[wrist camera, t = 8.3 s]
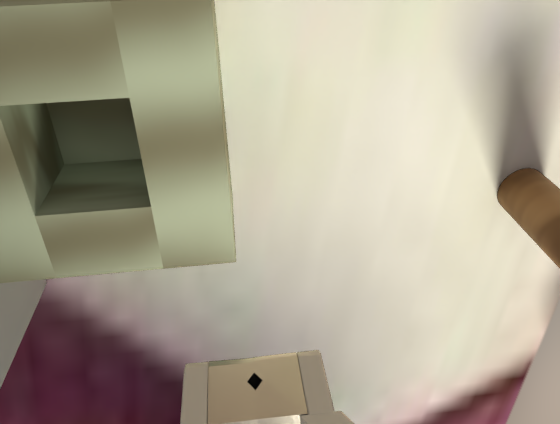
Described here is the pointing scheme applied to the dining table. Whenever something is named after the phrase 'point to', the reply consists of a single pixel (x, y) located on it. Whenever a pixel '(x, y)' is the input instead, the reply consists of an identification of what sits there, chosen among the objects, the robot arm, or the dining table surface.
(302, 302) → the dining table surface
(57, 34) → the socket block
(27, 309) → the wall
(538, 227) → the dowel
